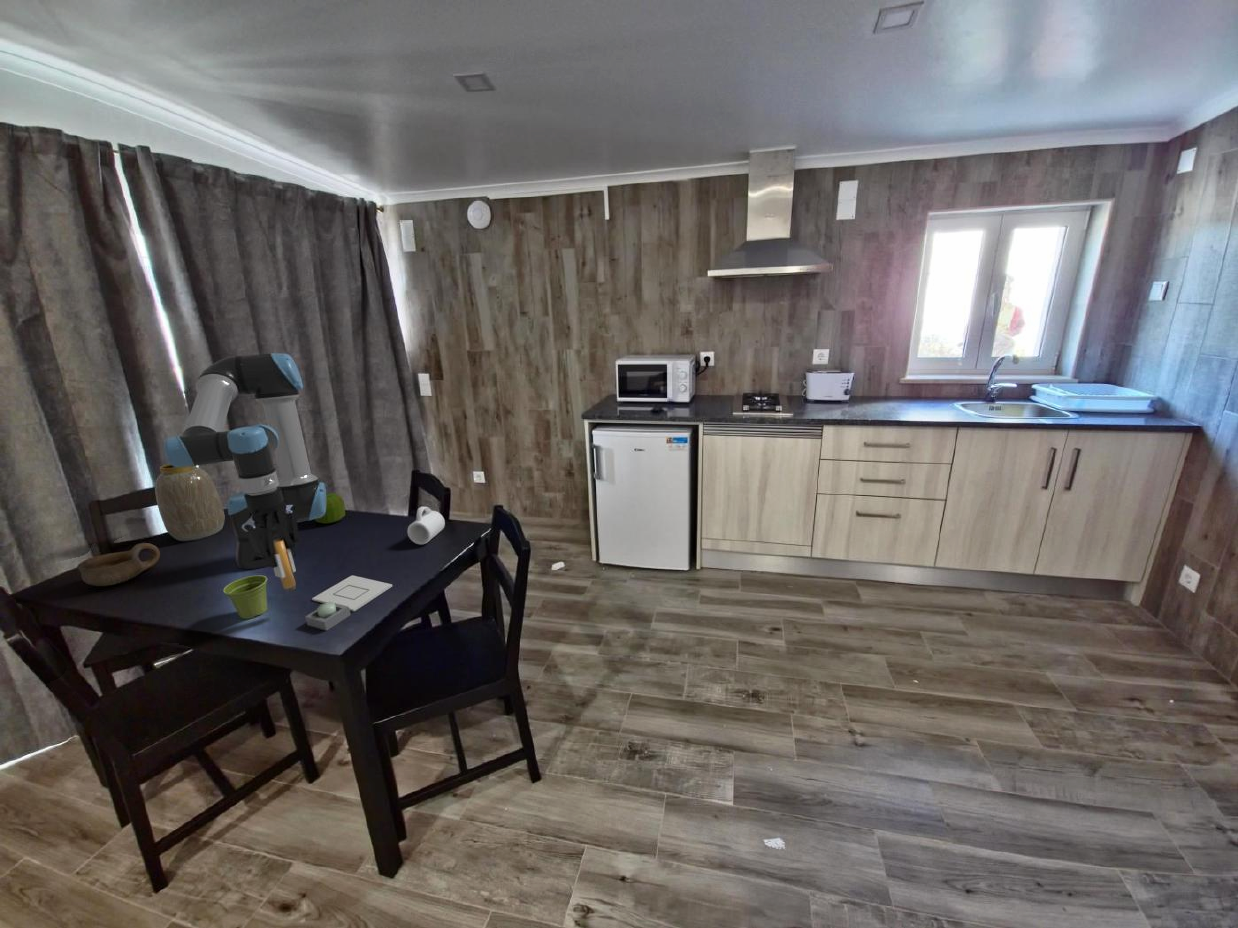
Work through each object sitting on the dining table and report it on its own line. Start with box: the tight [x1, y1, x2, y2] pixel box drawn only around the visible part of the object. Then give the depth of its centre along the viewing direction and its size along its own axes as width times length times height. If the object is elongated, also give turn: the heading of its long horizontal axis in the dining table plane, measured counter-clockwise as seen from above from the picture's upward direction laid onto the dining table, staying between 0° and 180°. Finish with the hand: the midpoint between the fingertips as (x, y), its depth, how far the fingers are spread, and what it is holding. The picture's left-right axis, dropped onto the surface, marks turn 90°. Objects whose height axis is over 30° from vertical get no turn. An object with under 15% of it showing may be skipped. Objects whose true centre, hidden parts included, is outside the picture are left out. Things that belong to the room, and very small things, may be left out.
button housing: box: [305, 603, 352, 631], centre depth 128 cm, size 7×7×2 cm
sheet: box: [311, 574, 393, 612], centre depth 141 cm, size 16×13×1 cm
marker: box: [273, 539, 297, 592], centre depth 129 cm, size 3×3×14 cm
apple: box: [314, 493, 346, 525], centre depth 190 cm, size 11×11×11 cm
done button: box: [316, 602, 337, 619], centre depth 128 cm, size 4×4×3 cm
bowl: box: [76, 542, 161, 587], centre depth 154 cm, size 18×14×10 cm
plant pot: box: [222, 574, 268, 620], centre depth 132 cm, size 9×9×9 cm
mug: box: [407, 506, 446, 546], centre depth 171 cm, size 8×10×12 cm
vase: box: [154, 462, 226, 542], centre depth 181 cm, size 17×17×27 cm
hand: (285, 573), depth 130 cm, fingers closed on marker, 2 cm apart
